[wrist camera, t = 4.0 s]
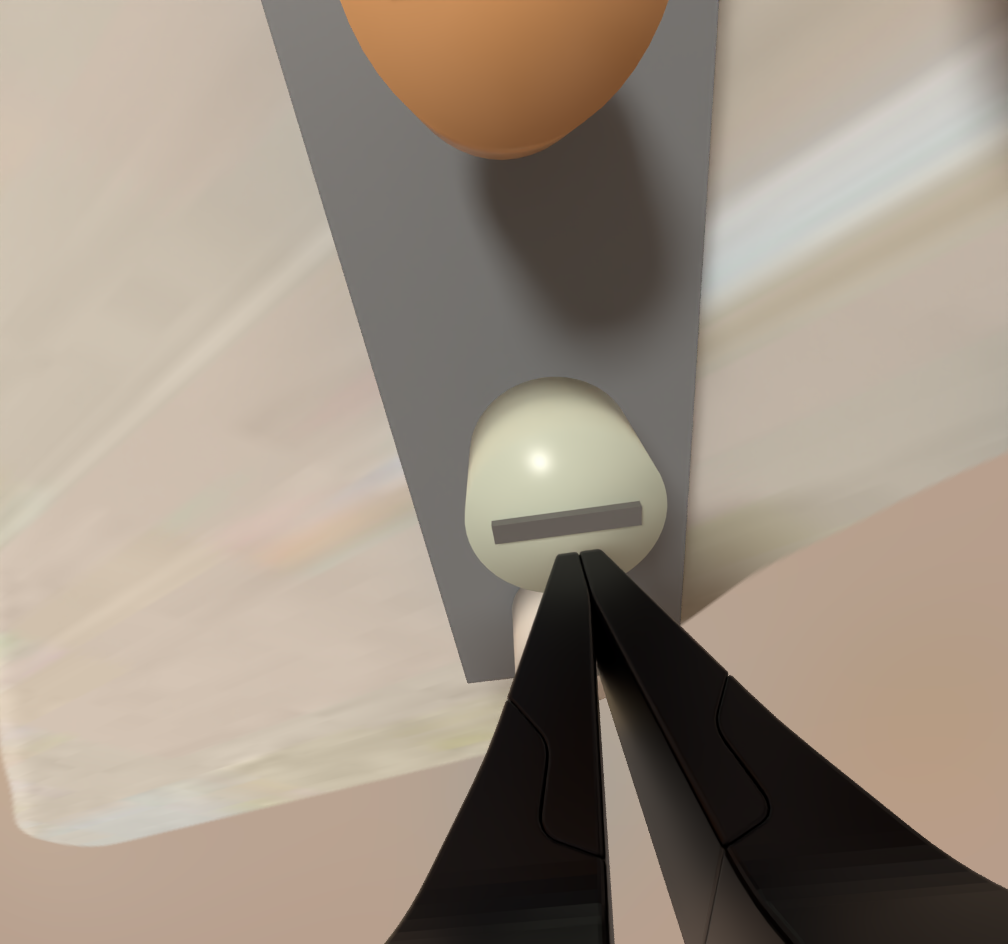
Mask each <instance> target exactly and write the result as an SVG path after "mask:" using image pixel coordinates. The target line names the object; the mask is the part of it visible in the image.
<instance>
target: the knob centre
mask: <svg viewBox="0 0 1008 944" xmlns="http://www.w3.org/2000/svg"><path fill="white" fill-rule="evenodd" d="M666 514H667V494H666V489H665V485H664V482H663V480H662V477H661V475H660V473H659V472H658V470H657V468H656V467H655V465H654V463H653V462H652V460H651V458H650V457H649V455H648V453H647V452H646V450H645V448H644V447H643V445H642V443H641V442H640V440H639V438H638V437H637V435H636V433H635V432H634V430H633V428H632V427H631V425H630V423H629V422H628V420H627V418H626V417H625V415H624V413H623V412H622V410H621V408H620V407H619V406H618V404H617V403H616V402H615V401H614V400H613V399H612V398H611V397H610V396H609V395H608V394H607V393H605V392H604V391H602V390H601V389H599V388H598V387H596V386H594V385H592V384H589V383H587V382H584V381H581V380H578V379H573V378H567V377H545V378H539V379H534V380H530V381H527V382H524V383H521V384H519V385H517V386H515V387H513V388H511V389H509V390H507V391H506V392H504V393H503V394H501V395H500V396H499V397H498V398H497V399H495V400H494V401H493V402H492V403H491V404H490V405H489V406H488V407H487V409H486V410H485V411H484V413H483V414H482V415H481V417H480V418H479V420H478V422H477V424H476V427H475V429H474V432H473V435H472V439H471V445H470V455H469V467H468V480H467V492H466V505H465V528H466V534H467V537H468V540H469V543H470V545H471V547H472V549H473V551H474V553H475V554H476V556H477V557H478V558H479V560H480V561H481V562H482V563H483V564H484V565H485V566H486V567H487V569H489V570H490V571H491V572H492V573H494V574H495V575H496V576H498V577H499V578H501V579H503V580H504V581H506V582H508V583H510V584H513V585H515V586H517V587H520V588H523V589H526V590H531V591H536V592H542V593H544V590H545V587H546V584H547V581H548V578H549V575H550V572H551V569H552V567H553V564H554V561H555V558H556V556H557V555H558V554H562V553H570V552H577V553H578V554H580V552H581V551H585V550H593V549H600V550H602V551H603V552H604V553H605V554H606V555H607V556H608V557H610V558H611V559H612V560H613V561H614V562H615V563H616V564H617V565H618V566H619V567H620V568H621V569H622V570H623V571H624V572H625V573H627V572H629V571H630V570H631V569H632V568H634V567H635V566H636V565H637V564H638V563H640V562H641V561H642V560H643V559H644V558H645V557H646V555H647V554H648V553H649V552H650V550H651V549H652V548H653V547H654V545H655V543H656V542H657V540H658V538H659V536H660V534H661V532H662V529H663V527H664V523H665V520H666Z"/></svg>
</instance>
